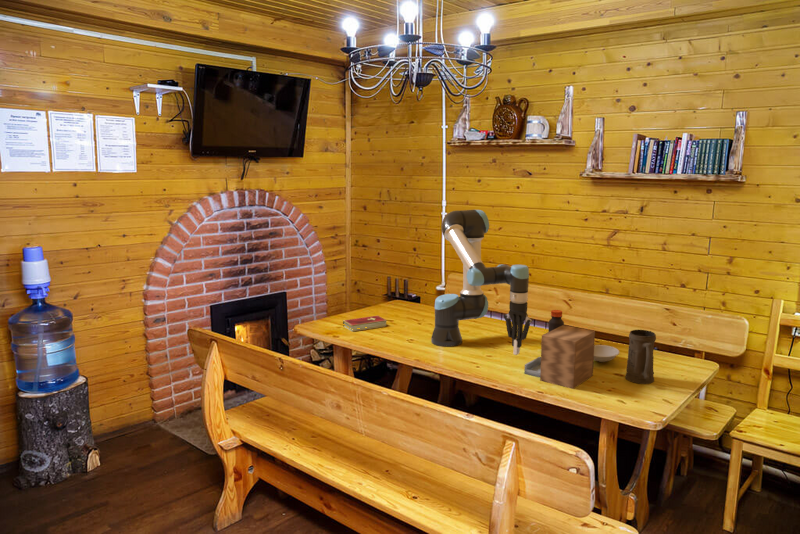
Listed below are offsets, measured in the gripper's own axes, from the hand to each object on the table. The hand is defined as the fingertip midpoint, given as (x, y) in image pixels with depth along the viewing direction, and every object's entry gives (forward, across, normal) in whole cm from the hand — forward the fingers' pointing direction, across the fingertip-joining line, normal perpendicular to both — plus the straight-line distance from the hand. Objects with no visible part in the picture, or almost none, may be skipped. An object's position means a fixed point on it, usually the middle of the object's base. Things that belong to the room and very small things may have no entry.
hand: (516, 353), depth 251 cm
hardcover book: (+8, -95, +3) cm, 95 cm away
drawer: (+5, +18, 0) cm, 19 cm away
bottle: (+6, +6, +26) cm, 27 cm away
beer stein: (+5, +49, +15) cm, 51 cm away
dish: (+5, +27, +28) cm, 39 cm away
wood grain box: (+5, +24, 0) cm, 24 cm away
